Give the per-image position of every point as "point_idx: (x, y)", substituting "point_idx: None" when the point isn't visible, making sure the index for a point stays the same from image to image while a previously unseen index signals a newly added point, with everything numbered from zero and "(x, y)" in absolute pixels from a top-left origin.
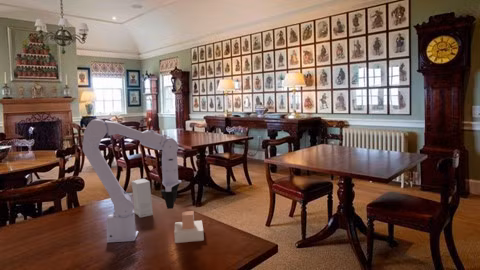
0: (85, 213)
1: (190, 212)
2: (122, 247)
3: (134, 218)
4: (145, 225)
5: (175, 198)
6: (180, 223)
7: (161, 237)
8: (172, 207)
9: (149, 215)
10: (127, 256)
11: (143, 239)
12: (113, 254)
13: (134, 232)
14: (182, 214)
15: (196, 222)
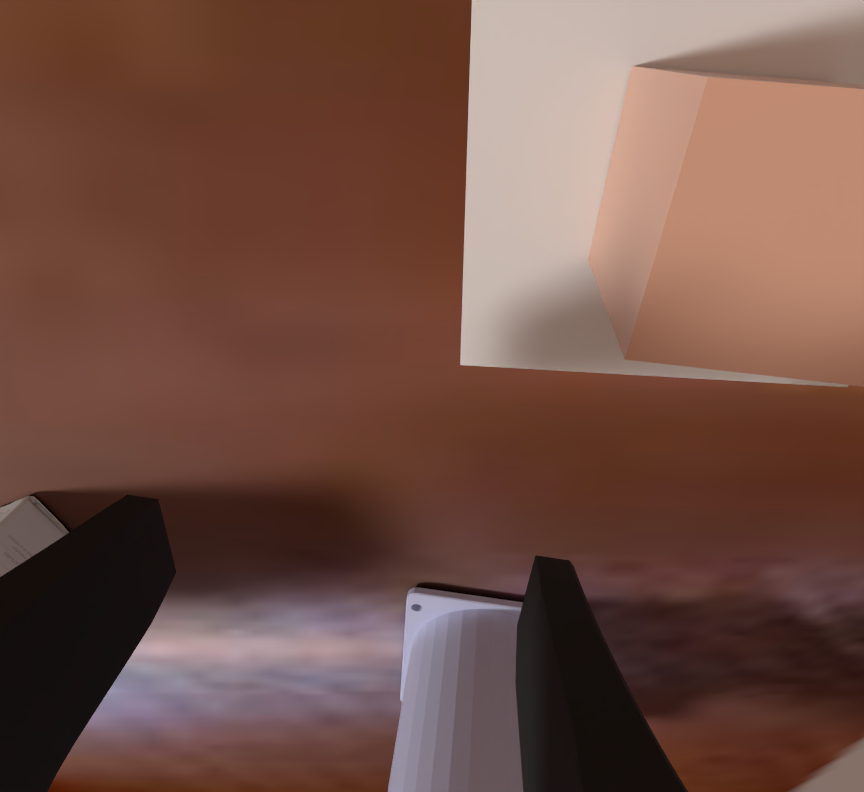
0: (72, 773)
1: (794, 178)
2: (654, 658)
3: (489, 762)
4: (269, 542)
5: (109, 548)
6: (520, 298)
7: (577, 441)
8: (578, 587)
9: (50, 517)
10: (833, 640)
11: (564, 558)
12: (744, 693)
13: (510, 642)
14: (821, 372)
15: (565, 14)
